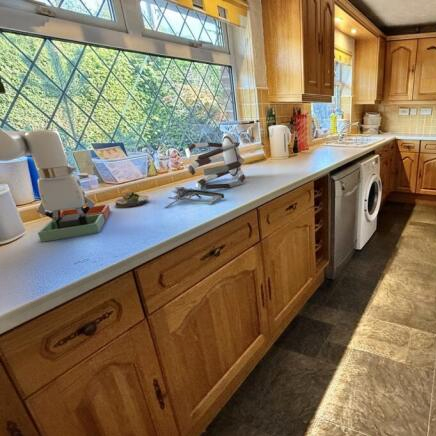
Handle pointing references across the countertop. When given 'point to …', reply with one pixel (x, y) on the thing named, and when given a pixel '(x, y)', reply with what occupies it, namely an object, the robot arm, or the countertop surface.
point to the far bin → (93, 211)
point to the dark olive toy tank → (130, 199)
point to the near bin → (71, 229)
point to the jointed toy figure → (229, 157)
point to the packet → (69, 221)
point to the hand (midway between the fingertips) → (74, 228)
